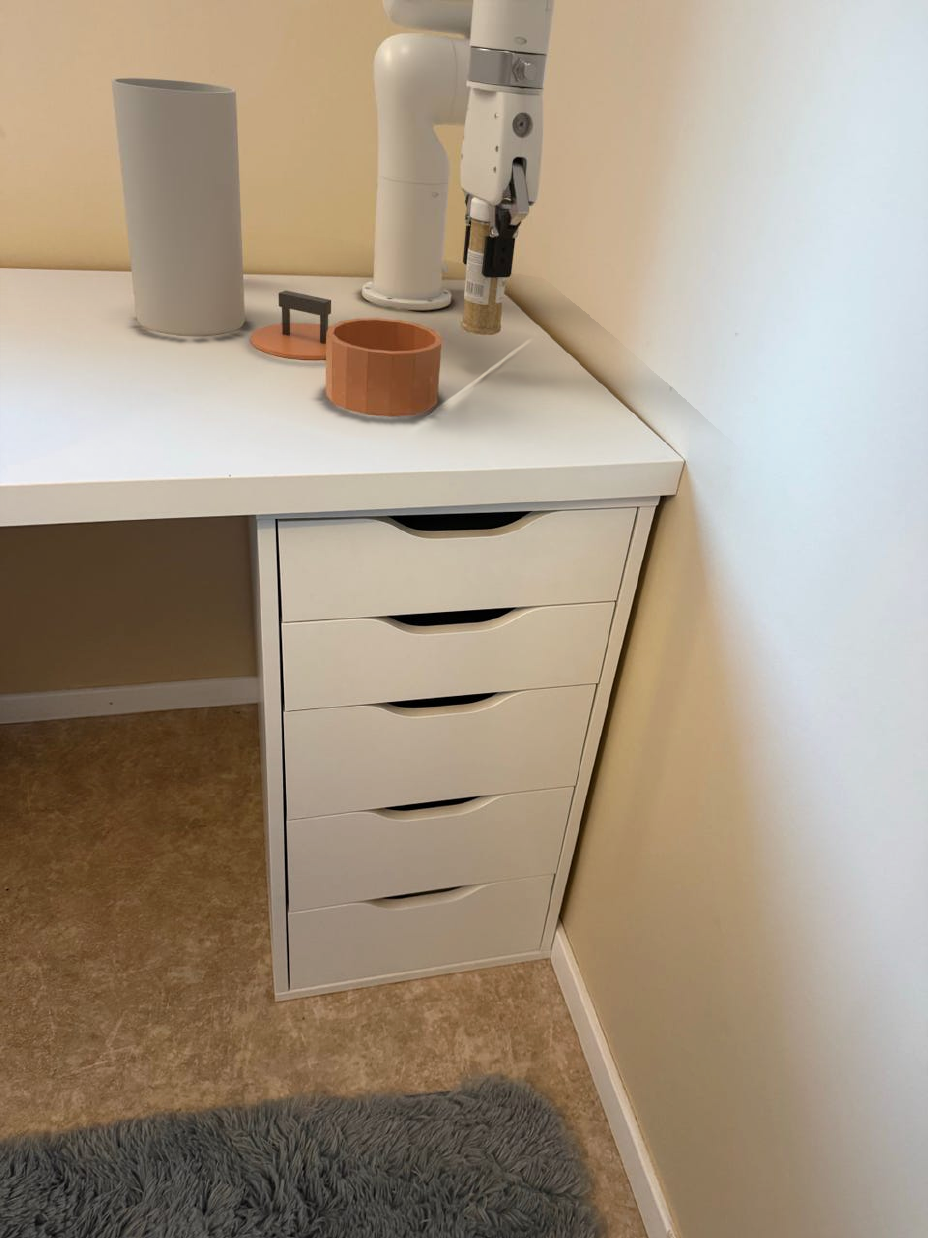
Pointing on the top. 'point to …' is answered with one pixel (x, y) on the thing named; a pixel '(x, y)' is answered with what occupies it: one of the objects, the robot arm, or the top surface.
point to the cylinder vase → (182, 203)
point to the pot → (382, 366)
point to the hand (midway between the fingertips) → (486, 268)
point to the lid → (296, 329)
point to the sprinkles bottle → (481, 277)
